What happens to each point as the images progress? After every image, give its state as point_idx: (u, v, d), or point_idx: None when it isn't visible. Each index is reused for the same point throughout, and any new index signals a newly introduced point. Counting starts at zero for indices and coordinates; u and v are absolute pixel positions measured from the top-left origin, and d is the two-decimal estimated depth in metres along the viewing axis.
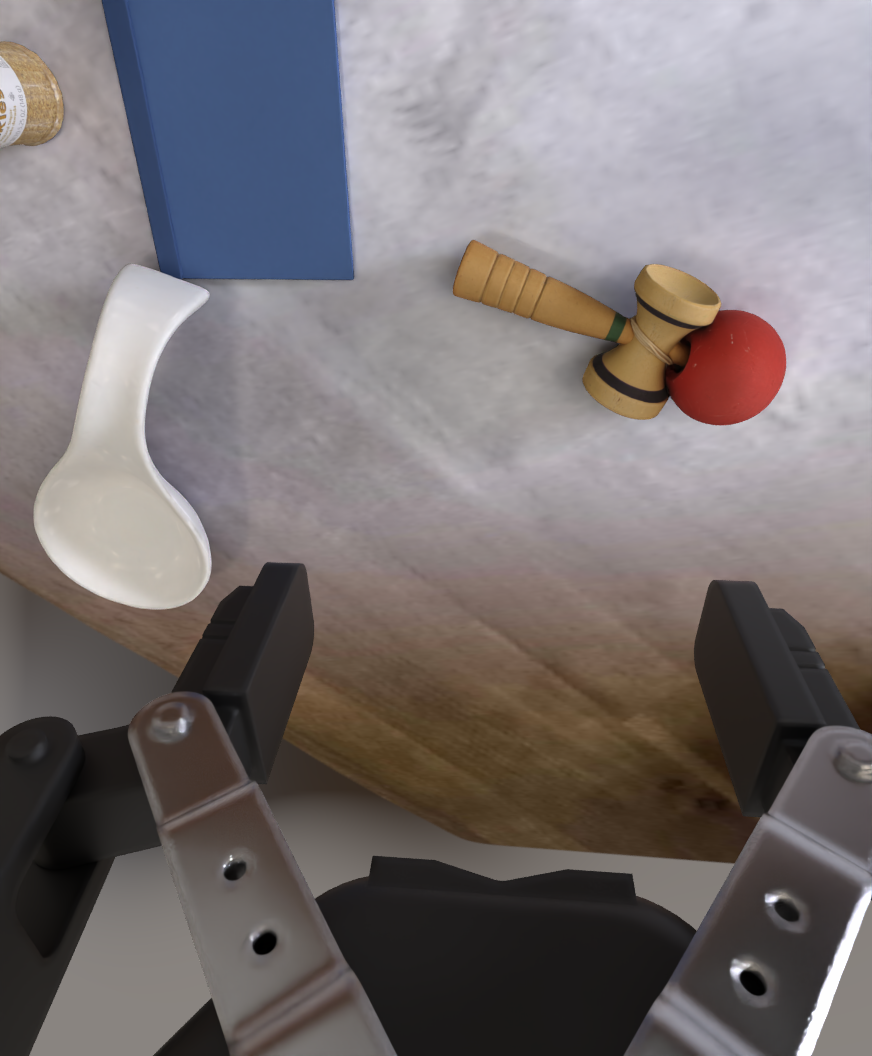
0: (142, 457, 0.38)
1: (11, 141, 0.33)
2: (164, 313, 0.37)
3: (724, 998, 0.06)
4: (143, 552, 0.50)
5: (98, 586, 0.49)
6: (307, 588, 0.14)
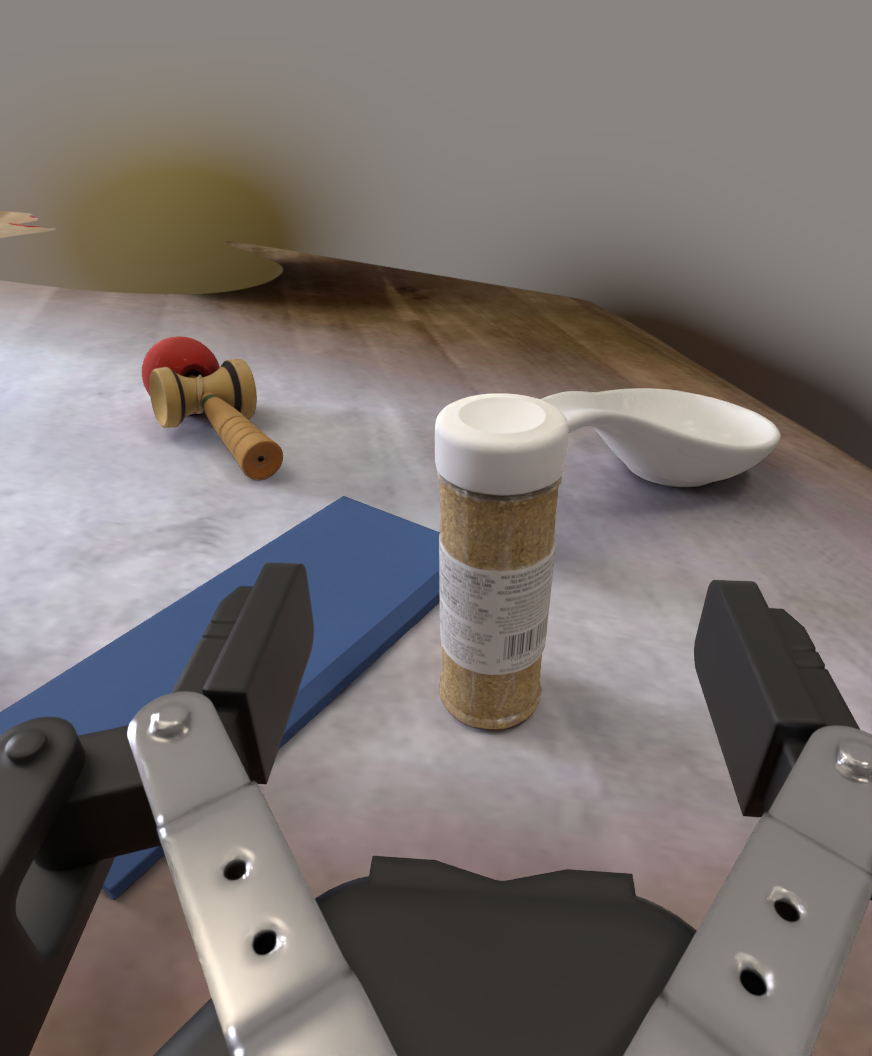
0: (564, 392, 0.41)
1: None
2: None
3: (724, 998, 0.06)
4: None
5: (749, 417, 0.48)
6: (307, 588, 0.14)
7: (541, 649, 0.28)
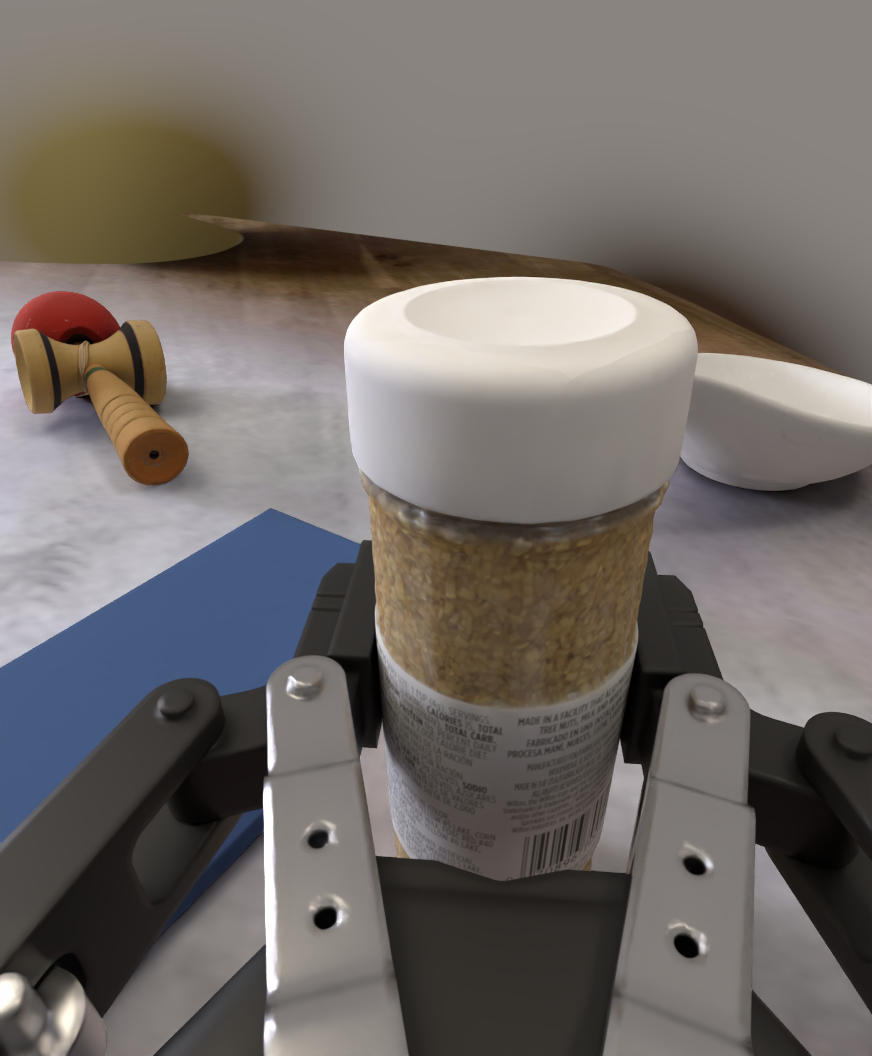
0: None
1: None
2: None
3: (667, 971, 0.07)
4: None
5: (858, 390, 0.33)
6: None
7: (598, 836, 0.13)
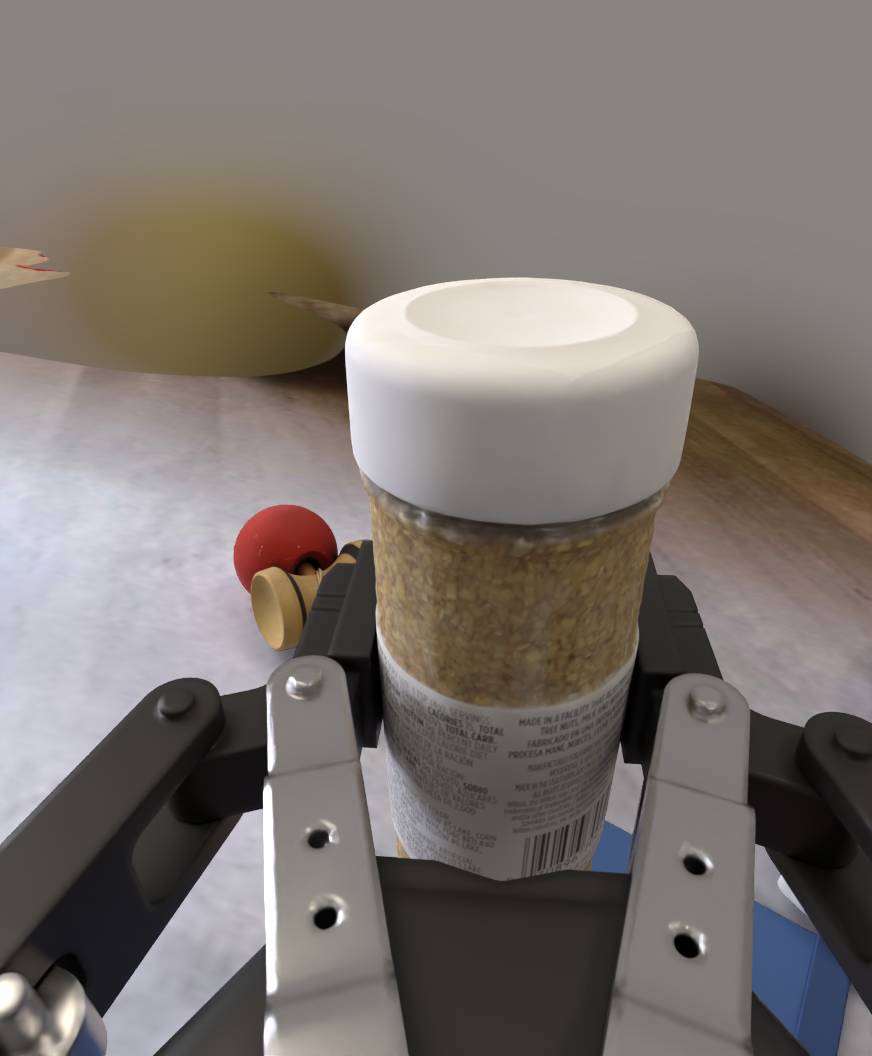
0: None
1: None
2: None
3: (667, 971, 0.07)
4: None
5: None
6: None
7: (599, 837, 0.13)
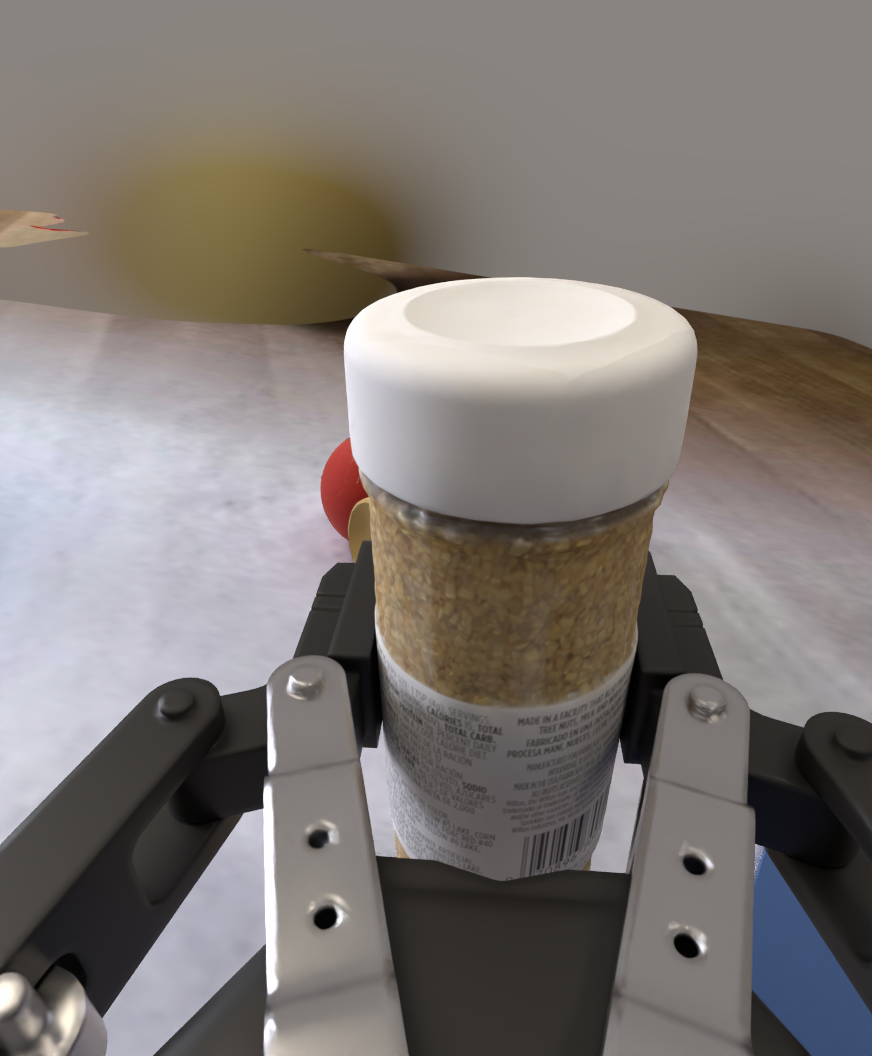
0: None
1: None
2: None
3: (667, 972, 0.07)
4: None
5: None
6: None
7: (598, 836, 0.13)
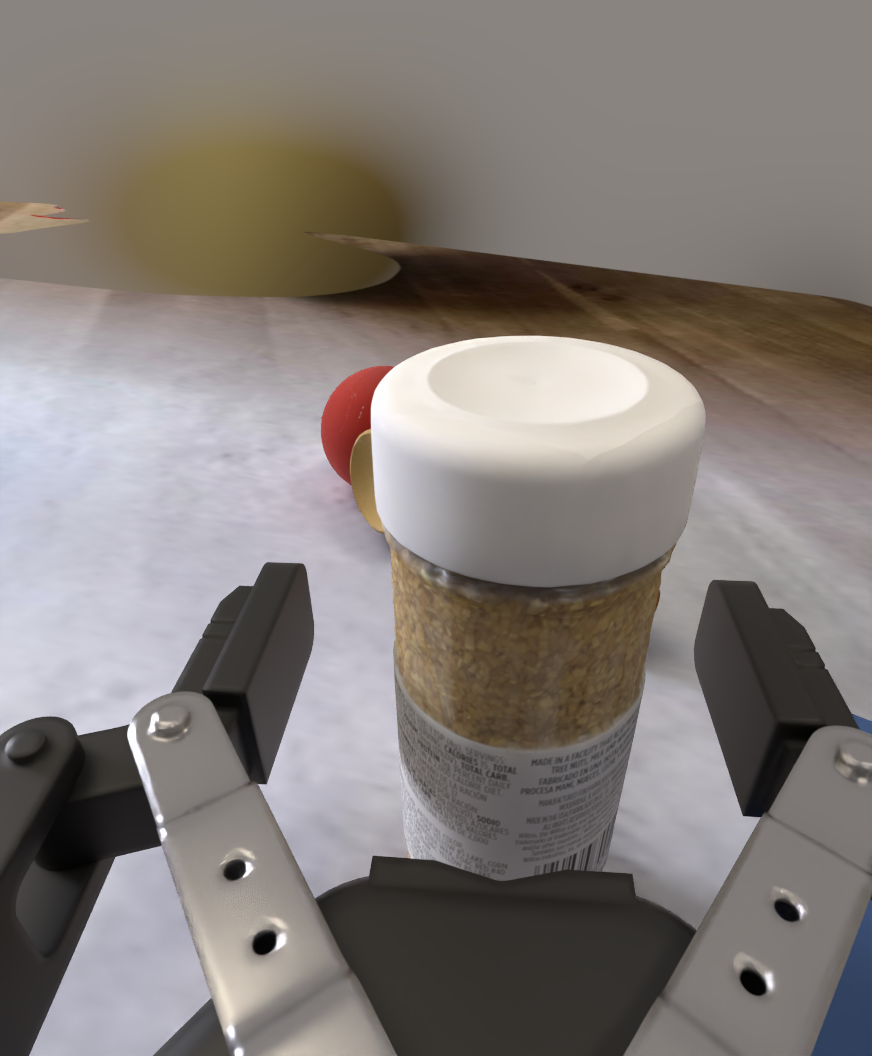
0: None
1: None
2: None
3: (724, 998, 0.06)
4: None
5: None
6: (307, 588, 0.14)
7: (604, 861, 0.14)
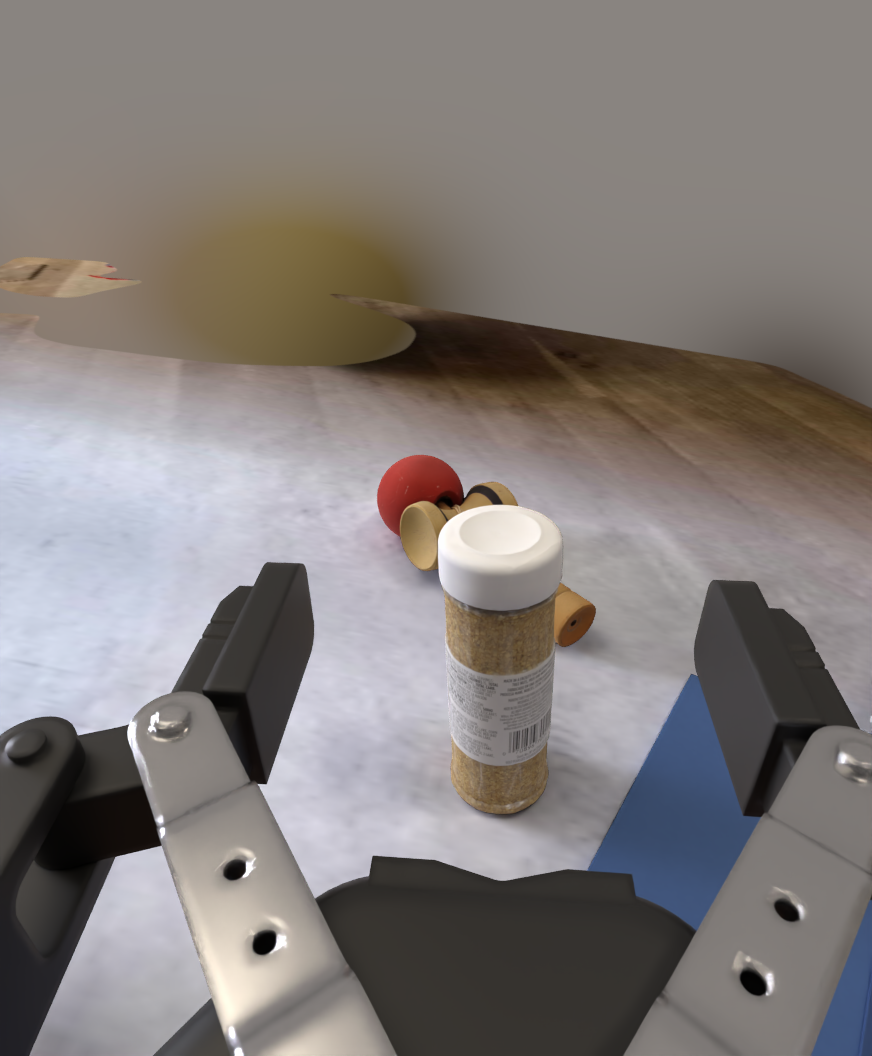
0: None
1: None
2: None
3: (724, 998, 0.06)
4: None
5: None
6: (307, 588, 0.14)
7: (545, 739, 0.29)
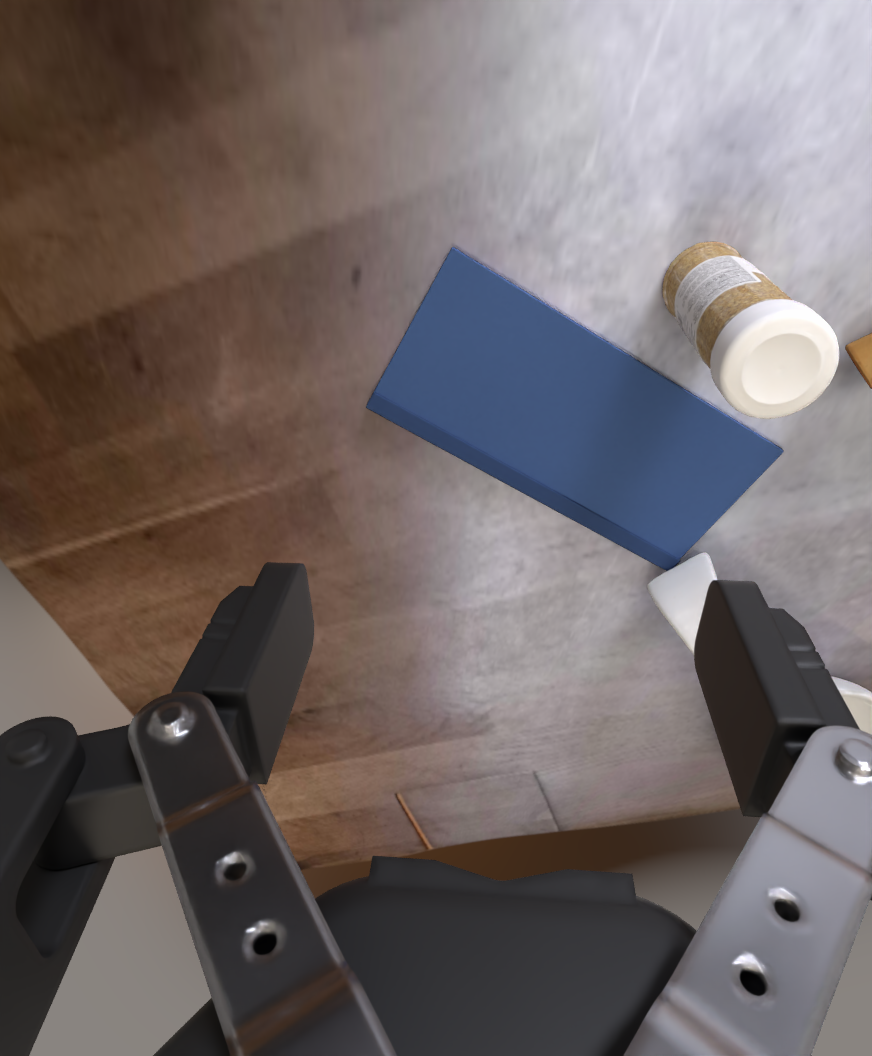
0: None
1: None
2: None
3: (724, 998, 0.06)
4: None
5: None
6: (307, 588, 0.14)
7: None
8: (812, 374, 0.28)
